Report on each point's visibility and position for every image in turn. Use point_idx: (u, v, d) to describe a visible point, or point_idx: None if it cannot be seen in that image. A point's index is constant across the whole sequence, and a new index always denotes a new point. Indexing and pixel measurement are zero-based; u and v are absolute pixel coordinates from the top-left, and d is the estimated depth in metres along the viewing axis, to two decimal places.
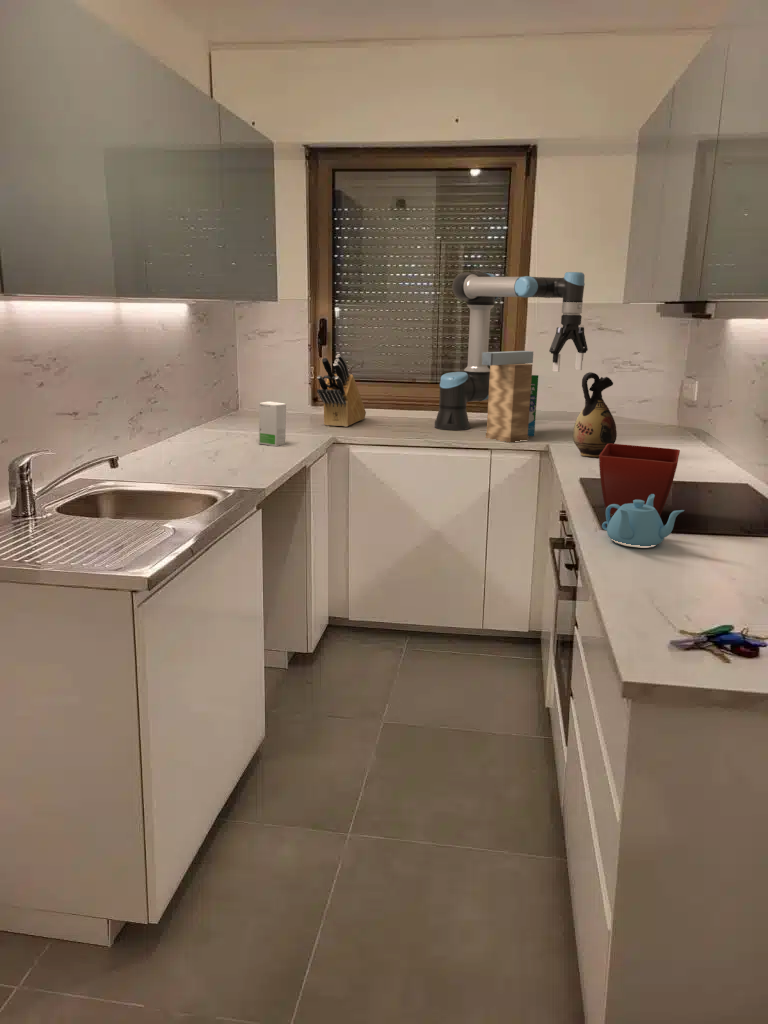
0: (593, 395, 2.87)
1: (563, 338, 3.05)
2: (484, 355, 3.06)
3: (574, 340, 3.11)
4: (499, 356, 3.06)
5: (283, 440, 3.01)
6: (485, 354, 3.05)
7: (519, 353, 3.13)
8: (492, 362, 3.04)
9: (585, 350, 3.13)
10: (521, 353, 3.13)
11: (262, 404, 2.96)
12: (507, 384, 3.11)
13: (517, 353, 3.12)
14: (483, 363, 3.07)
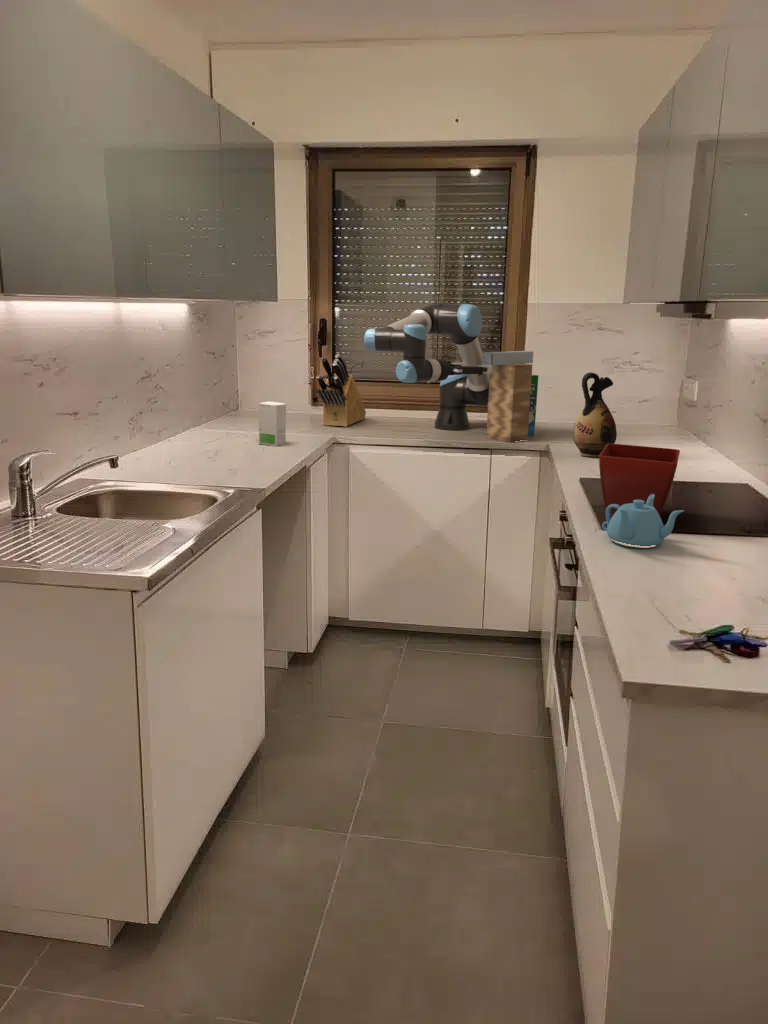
0: (593, 395, 2.87)
1: None
2: (484, 355, 3.06)
3: None
4: (499, 356, 3.06)
5: (283, 440, 3.01)
6: (485, 354, 3.05)
7: (519, 353, 3.13)
8: (492, 362, 3.04)
9: (479, 374, 2.83)
10: (521, 353, 3.13)
11: (262, 404, 2.96)
12: (507, 384, 3.11)
13: (517, 353, 3.12)
14: (483, 363, 3.07)
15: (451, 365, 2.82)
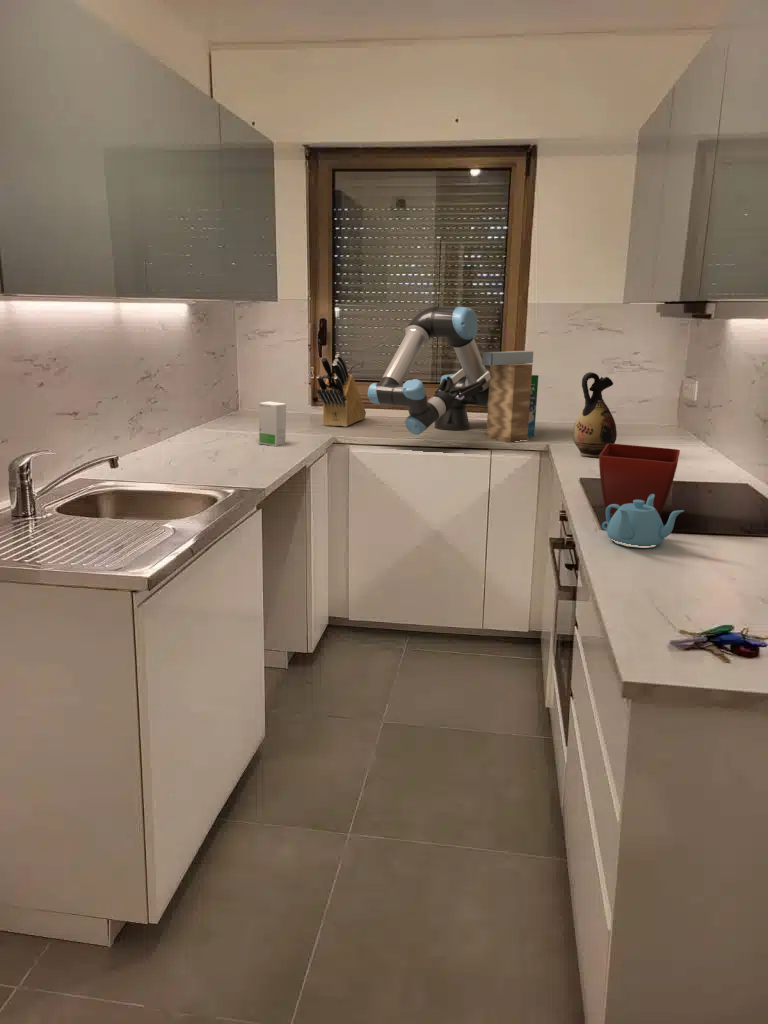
0: (593, 395, 2.87)
1: None
2: (484, 355, 3.06)
3: None
4: (499, 356, 3.06)
5: (283, 440, 3.01)
6: (485, 354, 3.05)
7: (519, 353, 3.13)
8: (492, 362, 3.04)
9: None
10: (521, 353, 3.13)
11: (262, 404, 2.96)
12: (507, 384, 3.11)
13: (517, 353, 3.12)
14: (483, 363, 3.07)
15: (452, 392, 2.95)
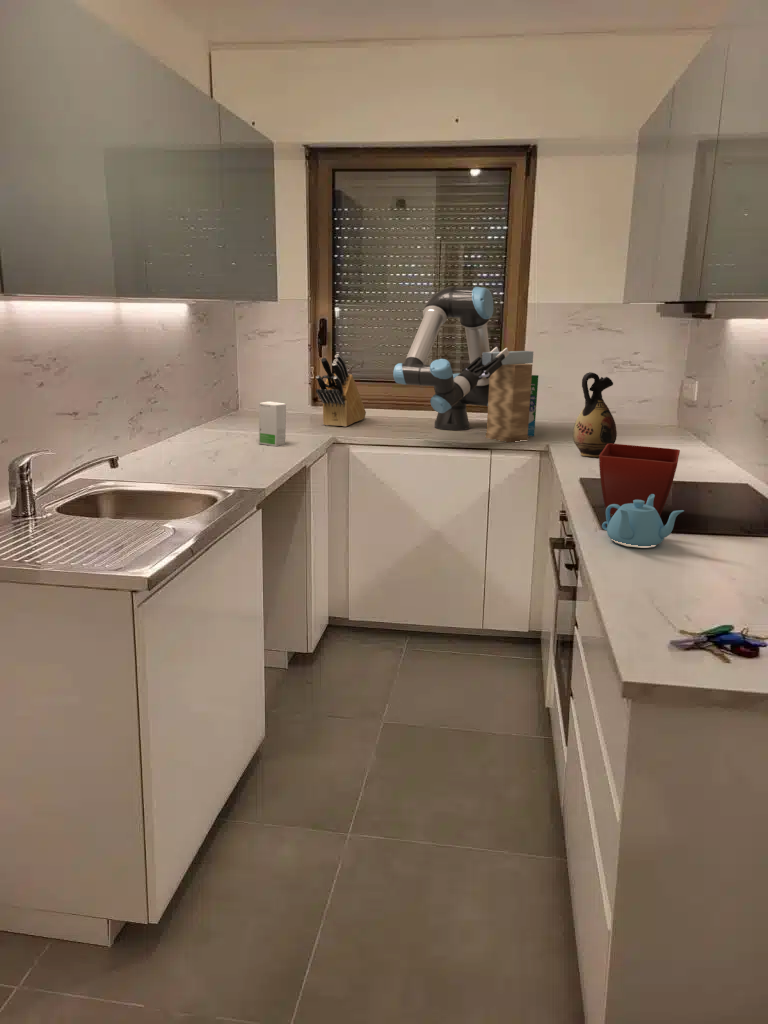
0: (593, 395, 2.87)
1: None
2: (484, 355, 3.06)
3: None
4: None
5: (283, 440, 3.01)
6: (485, 354, 3.05)
7: (519, 353, 3.13)
8: None
9: None
10: (521, 353, 3.13)
11: (262, 404, 2.96)
12: (507, 384, 3.11)
13: (517, 353, 3.12)
14: (483, 363, 3.07)
15: (476, 371, 3.01)
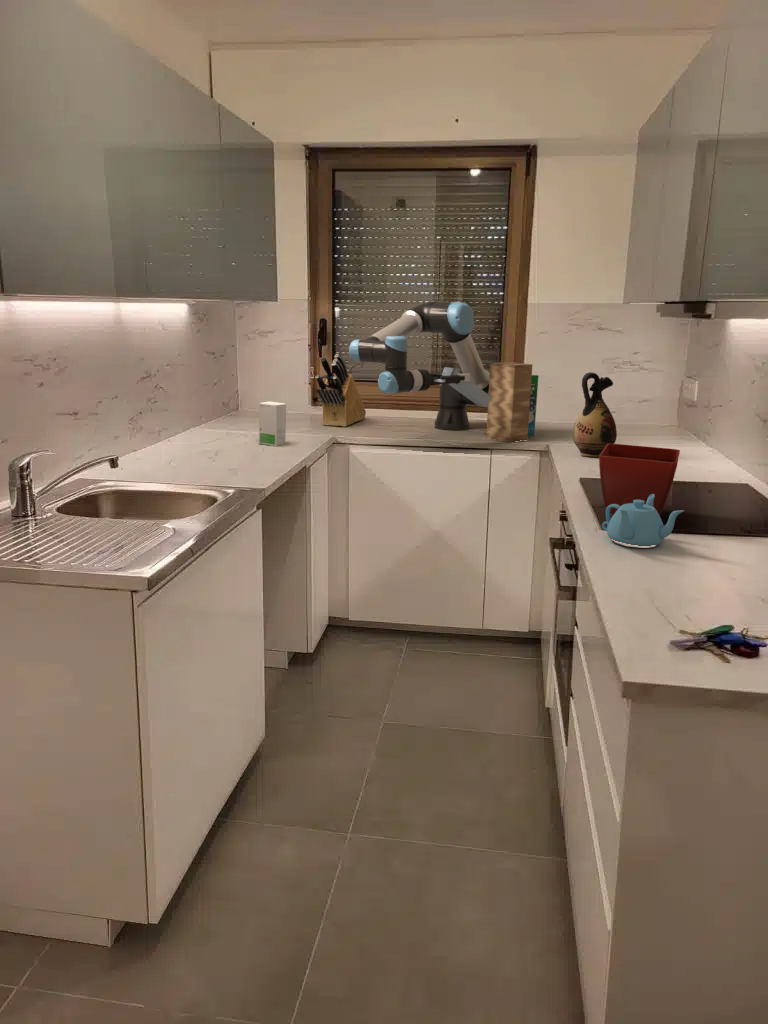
0: (593, 395, 2.87)
1: None
2: (445, 370, 2.95)
3: None
4: None
5: (283, 440, 3.01)
6: (447, 369, 2.94)
7: (478, 388, 3.03)
8: None
9: (457, 383, 2.93)
10: (480, 390, 3.03)
11: (262, 404, 2.96)
12: (507, 384, 3.11)
13: (476, 387, 3.02)
14: None
15: (433, 375, 2.88)
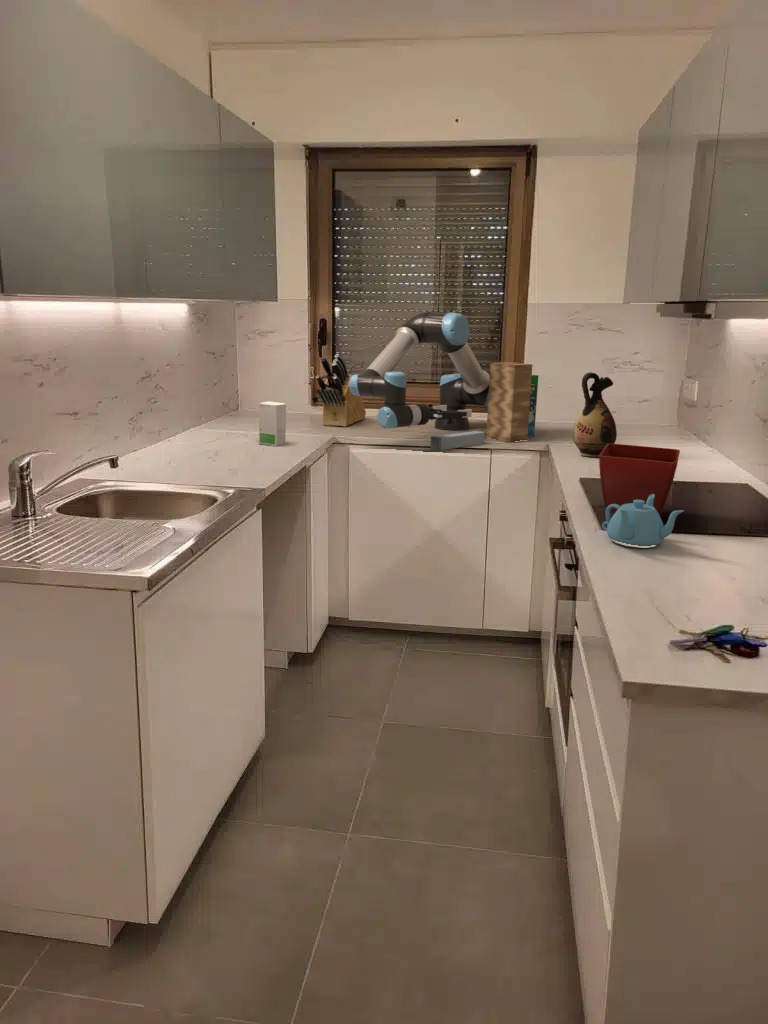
0: (593, 395, 2.87)
1: None
2: (432, 439, 2.98)
3: None
4: (448, 440, 2.98)
5: (283, 440, 3.01)
6: (433, 438, 2.97)
7: (469, 435, 3.05)
8: (440, 447, 2.96)
9: (458, 419, 2.91)
10: (471, 435, 3.06)
11: (262, 404, 2.96)
12: (507, 384, 3.11)
13: (467, 435, 3.04)
14: (432, 447, 2.99)
15: (431, 410, 2.91)
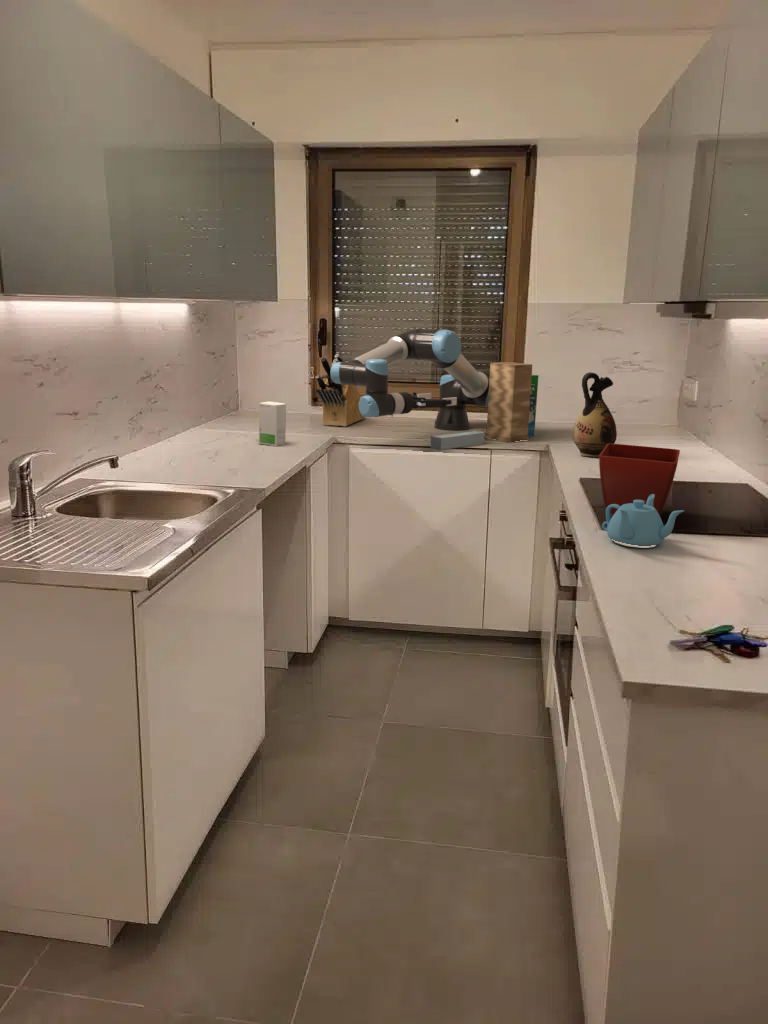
0: (593, 395, 2.87)
1: None
2: (432, 439, 2.98)
3: None
4: (448, 440, 2.98)
5: (283, 440, 3.01)
6: (433, 438, 2.97)
7: (469, 435, 3.05)
8: (440, 447, 2.96)
9: (442, 407, 2.84)
10: (471, 435, 3.06)
11: (262, 404, 2.96)
12: (507, 384, 3.11)
13: (467, 435, 3.04)
14: (432, 447, 2.99)
15: (415, 398, 2.83)
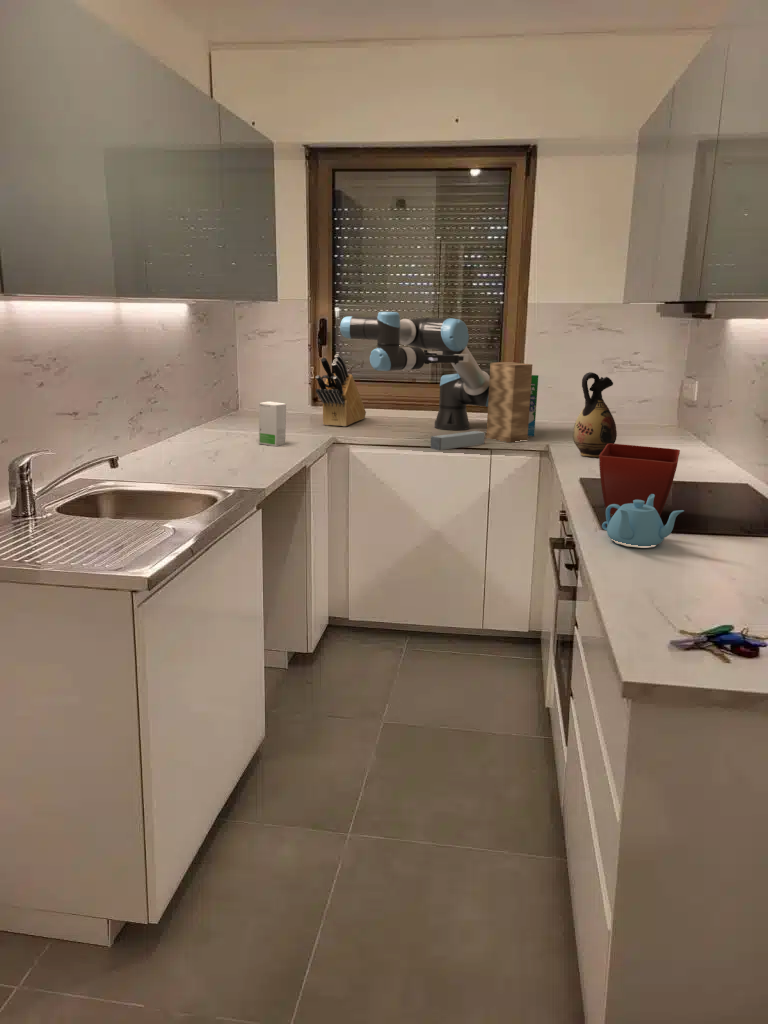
0: (593, 395, 2.87)
1: None
2: (432, 439, 2.98)
3: None
4: (448, 440, 2.98)
5: (283, 440, 3.01)
6: (433, 438, 2.97)
7: (469, 435, 3.05)
8: (440, 447, 2.96)
9: (454, 363, 2.80)
10: (471, 435, 3.06)
11: (262, 404, 2.96)
12: (507, 384, 3.11)
13: (467, 435, 3.04)
14: (432, 447, 2.99)
15: (426, 353, 2.79)
